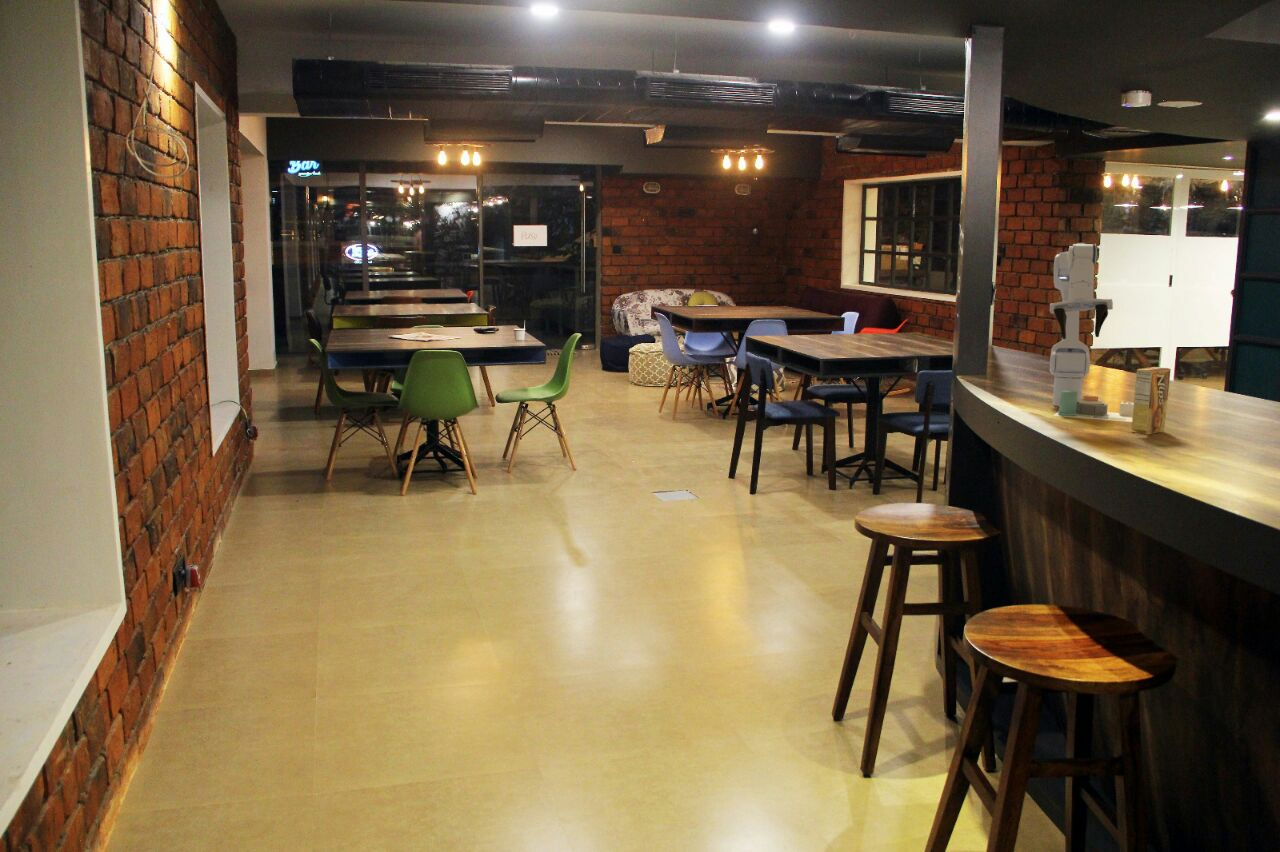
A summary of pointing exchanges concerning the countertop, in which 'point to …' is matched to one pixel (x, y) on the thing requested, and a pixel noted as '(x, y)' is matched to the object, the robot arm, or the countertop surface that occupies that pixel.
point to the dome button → (1090, 401)
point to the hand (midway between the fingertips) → (1080, 336)
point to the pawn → (1068, 403)
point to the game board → (1121, 414)
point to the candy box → (1151, 399)
